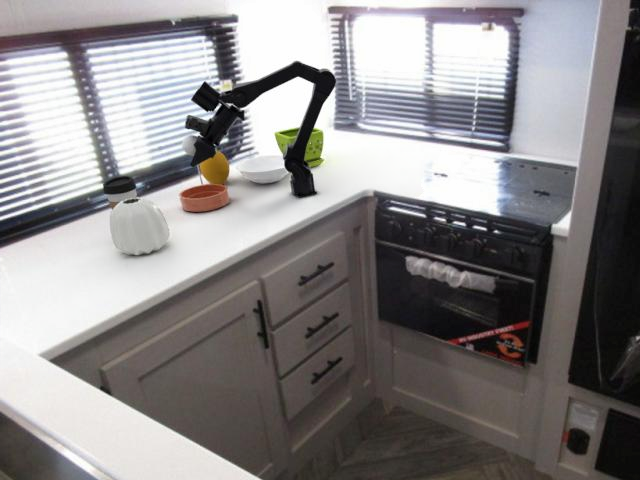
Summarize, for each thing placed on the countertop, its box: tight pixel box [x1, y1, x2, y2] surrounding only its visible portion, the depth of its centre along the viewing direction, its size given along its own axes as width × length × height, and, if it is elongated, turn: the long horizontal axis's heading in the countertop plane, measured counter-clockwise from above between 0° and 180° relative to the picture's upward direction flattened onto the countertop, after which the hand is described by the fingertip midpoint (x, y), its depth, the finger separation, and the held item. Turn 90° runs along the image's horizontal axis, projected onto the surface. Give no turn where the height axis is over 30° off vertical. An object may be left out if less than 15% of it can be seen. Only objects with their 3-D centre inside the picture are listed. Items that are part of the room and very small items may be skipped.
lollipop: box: [181, 134, 204, 185], centre depth 172 cm, size 6×6×15 cm
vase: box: [109, 196, 171, 256], centre depth 148 cm, size 14×14×13 cm
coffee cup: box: [102, 175, 139, 211], centre depth 159 cm, size 8×8×15 cm
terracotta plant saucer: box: [178, 183, 231, 213], centre depth 178 cm, size 14×14×4 cm
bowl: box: [235, 154, 290, 184], centre depth 196 cm, size 20×20×6 cm
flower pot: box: [274, 126, 324, 168], centre depth 209 cm, size 14×14×13 cm
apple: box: [199, 150, 230, 185], centre depth 196 cm, size 10×10×12 cm
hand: (192, 163), depth 173 cm, fingers closed on lollipop, 5 cm apart
